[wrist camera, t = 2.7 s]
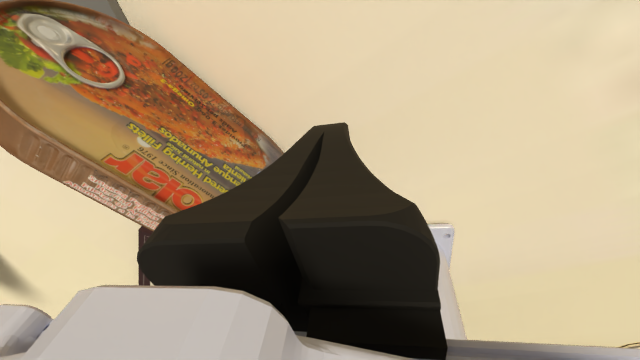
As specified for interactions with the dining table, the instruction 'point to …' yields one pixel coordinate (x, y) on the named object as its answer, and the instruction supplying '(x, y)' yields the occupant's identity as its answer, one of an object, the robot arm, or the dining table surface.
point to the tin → (117, 114)
